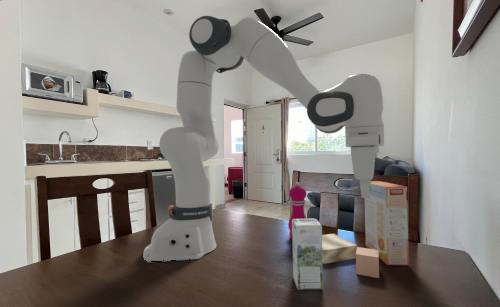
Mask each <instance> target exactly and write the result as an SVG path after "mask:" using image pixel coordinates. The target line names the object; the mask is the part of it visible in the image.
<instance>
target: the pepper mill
mask: <svg viewBox="0 0 500 307" xmlns="http://www.w3.org/2000/svg"><path fill="white" fill-rule="evenodd" d="M288 195H289V197H290V204H291V207H292V211H291V215H290V218H289V219H288V220H289V221H288V224H287V226H288V229H289V230H290V233H289V239H290V240H292V219H308V218H307V216H306V214H305V205H306V200H305V198H306V197H307V191H306V189H305V188H304V187H303V186H301V183H300V181H299V182H298V181H295V183H294V186H293V187H291V188H290V189H289V193H288Z"/></svg>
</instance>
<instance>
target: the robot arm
mask: <svg viewBox="0 0 500 307" xmlns="http://www.w3.org/2000/svg"><path fill="white" fill-rule="evenodd" d="M188 36H189V41H190V44H191V46H192V47H193V49H194V50H190V51H186V52H185V53H184V54H183V55H182V57H181V59H180V60H181V61H180V64H179V68H178V74H177V75H178V76H177V87H176V88H177V89H176V90H177V91H176V111H177V112H178V114H179V116H180V118H181V121H182V125H183V126H178V127H173V128H172V127H171V128H168V129H167V130H165V131H164V132H163V133H162V134H161V137H160V138H159V150H160V153H161V155H162V156H163V157H164V158H165V159H166V160H167V162H168V164H169V166H170V168H171V172H172V176H173V179H174V185H175V186H174V187H175V188H174V190H175V205H169V206H168V207H167V208H168V209H167V210H168V213H169V218H168V219H167V220H166V221H165V222H164V223H162V224H161V225H159V226H158V227H157V229H155V231H154V232H153V234H152V236H151V241H150V244H148V245H147V246H146V247H145V248H144V249H143V254H142V259H143V258H144V259H143V260H144V261H145V260H146V261H147V262H146V261H145V262H146V263H152V262H151V261H162V262H172V261H171V260H176V261H188V260H189V259H190V260H199V259H201V258H203V257H204V255H206V254H208V253H210V252H213V251H215V249H216V248H217V242H216V239H215V234H214V229H213V223H212V221H213V217H214V216H213V204H212V203H211V180H210V178H209V176H208V175H207V173H206V169H205V166H204V162H207V161H208V160H211V159H212V158H213V157H215V156H216V154H217V153H218V151H219V142H218V140H217V138H216V134H215V130H214V129H215V128H214V121H213V114H212V101H213V100H212V99H213V96H212V95H213V94H212V93H213V76H214V74H215V72H216V73H219V74H222V73H225V72H227V71H228V72H229V71H234V70H235V69H237V68H239V67H240V66H241V65H242V63H243V62H244V60H245V61H246V63H248V64H249V65H250V66H251V67H252V68H253V69H255V71H256V72H258V73H259V74H260V75H262V76H264V77H265V78H267V79H268V80H270V81H271V82H273V83H275V84H277V86H279V87H281V88H283V89H284V90H286V91H287V92H288V93H290V94H291V95H292V96H293V97H294V98H295V99H296V100H297V102H299V103H300V104H301V105H302V107H304V108H305V109H306V115H307V117H308V120H310V122H311V123H312V124H313V125H314V127H316V129H317V130H319V131H320V132H322V133H324V134H335V133H337V132H339V131H341V130H342V129H344V134H345V135H344V136H345V148H350V155H351V156H350V157H351V164H352V170H353V171H352V172H353V175H354V178H355V180H359V188H360V189H359V190H360V197H361V198H362V199H365V198H369V197H370V191H371V181H373V179H374V176H375V174H374V172H375V164H376V163H375V162H376V154H377V153H379V152H380V150H379V149H380V147H382V146H385V128H384V127H385V126H384V123H383V119H382V113H383V111H384V100H383V91H382V86H381V83H380V80H379V79H378V78H377V77H375V76H374V75H371V74H367V73H357V74H352V75H349V76H348V77H346V78H345V79H344V80H343V81H342V82H341V83H339V84H337V85H335V86H334V87H332V88H329V89H326V90H324V91H320V90H319V89H317V87H315V85H314V84H312V83H311V82H310V81H309V80H308V79H307V78H306V76H305V75H304V74H303V73H302V71H301V69H300V67H299V65H298V64H297V61H296V59H295V57H294V55H293V53H292V52H291V50H290V49H289V47H288V45H287V44H286V43H285V42H284V41H283V39H282V38H281V37H280V36H279V35H278V34H277V33H276V32H274V31H273V30H272V29H271V28H269V27H268V26H267V25H265V23H263V22H261V21H259V20H257V19H256V18H254V17H250V16H248V17H244V18H241V19H239V21H238V22H237V23H236V24H235V25H231V23H230V22H229V20H227V19H224V18H223V19H222V18H217V17H215V16H213V15H202V16H200V17H198V18H196V19H195V20H194V21H193V22H192V24H191V26H190V29H189V32H188ZM163 260H164V261H163Z"/></svg>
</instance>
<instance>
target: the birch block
mask: <svg viewBox="0 0 500 307" xmlns="http://www.w3.org/2000/svg"><path fill="white" fill-rule="evenodd" d="M357 247H358V244H356V243H354V242H352V241H349V240H348V239H347V238H344V237H342V236H339V235H337V234H336V233H327V234H322V264H331V263H337V262H341V261H347V260H354V259H356V250H357Z"/></svg>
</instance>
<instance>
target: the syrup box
mask: <svg viewBox="0 0 500 307" xmlns="http://www.w3.org/2000/svg"><path fill="white" fill-rule="evenodd" d="M322 235H323V226H322V224H321V223H320V222H319V220H318V219H316V218H307V219H292V239H291V240H292V244H291V245H292V246H291V247H292V250H291V251H292V278H293V281H294V284H295V286H296V288H297V291H309V290H324V289H323V288H324V284H323V283H324V282H323V281H324V279H323V278H324V276H323V272H324V271H323V268H324V267H323V263H322Z"/></svg>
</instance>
